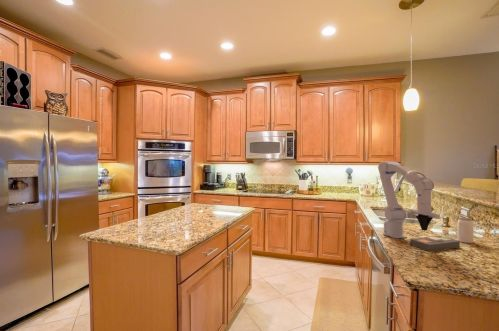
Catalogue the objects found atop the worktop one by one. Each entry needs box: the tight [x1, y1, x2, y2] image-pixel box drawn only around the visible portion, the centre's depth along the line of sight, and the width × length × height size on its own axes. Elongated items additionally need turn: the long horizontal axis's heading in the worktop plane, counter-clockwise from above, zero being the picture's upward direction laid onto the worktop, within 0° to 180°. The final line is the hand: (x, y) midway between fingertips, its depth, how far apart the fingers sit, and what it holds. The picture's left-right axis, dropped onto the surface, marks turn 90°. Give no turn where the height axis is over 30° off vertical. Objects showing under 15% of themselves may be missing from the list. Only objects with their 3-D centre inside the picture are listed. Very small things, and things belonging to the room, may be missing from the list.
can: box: [456, 217, 474, 244], centre depth 132 cm, size 6×6×12 cm
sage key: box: [440, 236, 452, 241], centre depth 126 cm, size 4×4×2 cm
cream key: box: [426, 236, 442, 242], centre depth 125 cm, size 4×4×2 cm
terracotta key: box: [417, 239, 431, 243], centre depth 123 cm, size 4×4×2 cm
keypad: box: [409, 235, 461, 252], centre depth 125 cm, size 10×20×3 cm, turn 105°
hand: (424, 230), depth 124 cm, fingers closed
